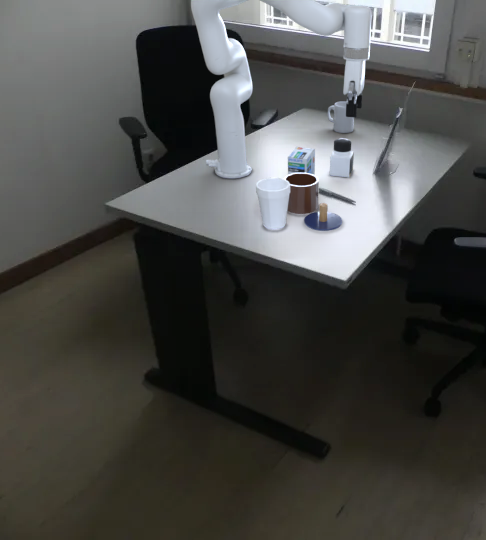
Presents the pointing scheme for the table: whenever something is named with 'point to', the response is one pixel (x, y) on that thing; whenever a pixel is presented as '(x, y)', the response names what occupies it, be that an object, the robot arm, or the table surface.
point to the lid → (323, 219)
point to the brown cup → (303, 193)
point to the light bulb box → (302, 161)
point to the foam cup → (273, 201)
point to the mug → (341, 118)
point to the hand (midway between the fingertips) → (353, 112)
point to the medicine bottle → (341, 158)
